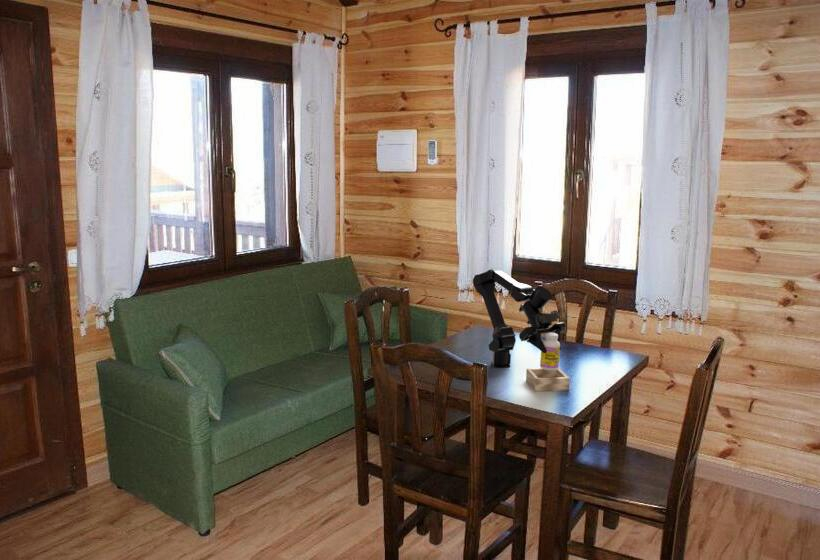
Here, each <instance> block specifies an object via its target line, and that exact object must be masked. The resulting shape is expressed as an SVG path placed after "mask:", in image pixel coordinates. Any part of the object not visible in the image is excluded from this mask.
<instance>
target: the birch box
mask: <svg viewBox="0 0 820 560" xmlns="http://www.w3.org/2000/svg"><path fill="white" fill-rule="evenodd" d="M525 380H526V382H527V384H529V385H530V387H531V388H532V389H533V390H534V391H535V392H561V391H562V392H563V391H565V392H566V390H568V391H570V385H571V383H570V381H571V378H570V376H568V375H567V374H566V373H565V372H564V371H563V370H562V369H560V368H559V367H558V369H557V370H544V369H542V368H541V367H540V368H538V367H537V368H536V367H535V368H534V367H533V368H526V374H525Z"/></svg>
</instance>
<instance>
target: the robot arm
mask: <svg viewBox="0 0 820 560" xmlns="http://www.w3.org/2000/svg"><path fill="white" fill-rule="evenodd" d="M496 283H497V284H498V285H500V286H501V287H503V289H505V290H507V291H508V292H509V293H510V297H511V298H512V299H513V300H514V301H515V302H517V303H522V302H524V303H522V304H520V306H519V308H518V311H519V312H520V313H521V312H523V313H524V314H525V316H526V319H527V321H526V324H527V325H530V326H527V327H524V328H523V329H522V330H521V332H520V333H519V334H518V335H519V336H518V337H519V340H520V341H521V342H526V343H528V344H531V345H533V346H534V347H535V348H537V349H538V350H539V351H540V352H541V351H542V352H543V353H546V352H547V351H546V348H545V346H544V344H543V342H542V341H543V340H542V337H541V335H543V334H544V335H545V333H556V334H558V339H557V341H559V342H560V351H561V350H562V345H561V334H562V333H563V332H564V331H565V330H566V329H568V328H567V326H566V323H565V322H563V321H561V322H558V319H560V316H561V315H560V313H559V312H558V310H551V311H550V313H545V312H542V310H541V309H543V308H544V307H546V305H547V304H548V303H549V302H550V301H551V300H552V298H553V294H552V292H551V291H550V290H548V289H547V288H545V287H544V286H543V285H542V284H541V285H537V286H536V288H535V289H534V288H533V287H532V286H531V285H529V284H526V283H521V282H518V281H517V280H516V279H514V278H512V277H511V276H509V275H508V274H507V273H505V272H504V271H503V270H502V269H501V268H490V269H489V270H487V271H484V272H482V273H479V274H475V275H474V277H473V279H472V284H473V286H474V289H475V291H476V292H477V293H478V294H479V295H480V296H481V297H482V299H483V303H484V305H485V308H486V310H487V313H488V316H489V319H490V322H491V325H492V327H493V332H492V336H491V337H492V340H491V341H490V343H489V344H488V349H489V351H491V352H492V353H491V354H492V358H491V359H492V360H491V362H490V363H491V365H492V366H493V367H494V368H508V367H509V368H511V363H512V362H511V356H512V354H511V353H510V352H511V351H513V350H514V348H515V345H516V340H517V339H516V334H515V332H514V328H513V327H512V326H508V325H507V324H506V322H505V319H504V317H503V316H504V315H503V314H502V311H501V308H500V304H499V303H498V300H497V297H496V294H495V289H496ZM553 322H555V323H554V324H552V323H553Z"/></svg>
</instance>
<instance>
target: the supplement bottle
mask: <svg viewBox="0 0 820 560" xmlns="http://www.w3.org/2000/svg"><path fill="white" fill-rule="evenodd" d="M544 338H545V339H543V340H542V342H543V344H544V346H545V348H546V351H547V352H546V353H543V352H542V351H541V350H540V362H539V366H540V368H542V369H544V370H557V369H558V368H559V365H560V353H561V350H560V344H561V341H560V342H559V341H557V339H558V334H556V333H545V334H544Z"/></svg>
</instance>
